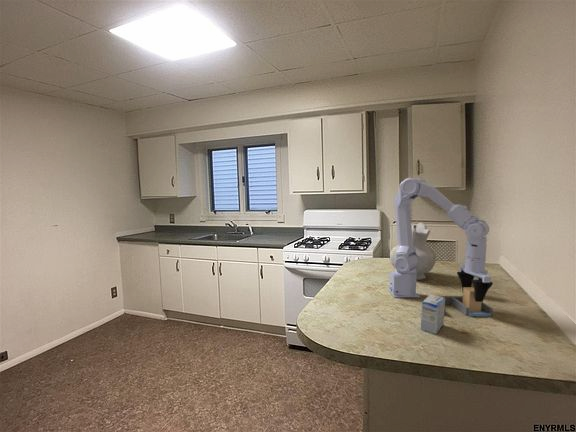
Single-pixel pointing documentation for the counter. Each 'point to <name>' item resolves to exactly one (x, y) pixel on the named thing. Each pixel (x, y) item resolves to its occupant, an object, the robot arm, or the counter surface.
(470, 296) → the tan rectangular block
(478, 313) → the blue shallow tray
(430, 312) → the medicine box
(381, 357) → the counter surface
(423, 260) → the ceramic pitcher
